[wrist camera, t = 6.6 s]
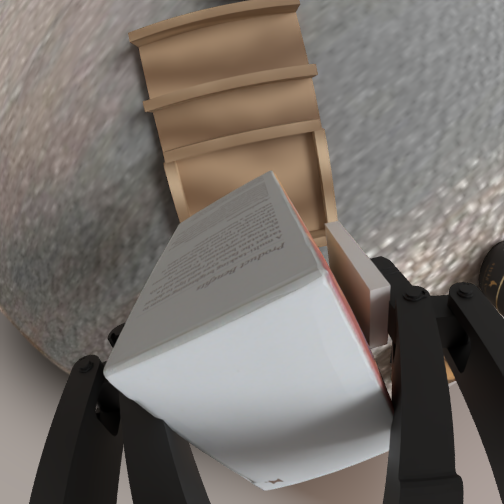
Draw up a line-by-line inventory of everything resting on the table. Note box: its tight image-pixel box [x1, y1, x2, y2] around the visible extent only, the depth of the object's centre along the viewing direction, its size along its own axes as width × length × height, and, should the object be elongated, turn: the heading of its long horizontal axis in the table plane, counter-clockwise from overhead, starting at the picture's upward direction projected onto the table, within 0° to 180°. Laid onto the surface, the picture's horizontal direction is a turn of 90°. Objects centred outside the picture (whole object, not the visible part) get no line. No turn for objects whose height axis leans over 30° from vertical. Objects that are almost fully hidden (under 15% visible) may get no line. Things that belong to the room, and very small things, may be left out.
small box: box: [103, 171, 394, 490], centre depth 12 cm, size 8×6×10 cm
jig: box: [128, 0, 338, 247], centre depth 26 cm, size 25×15×4 cm, turn 12°
